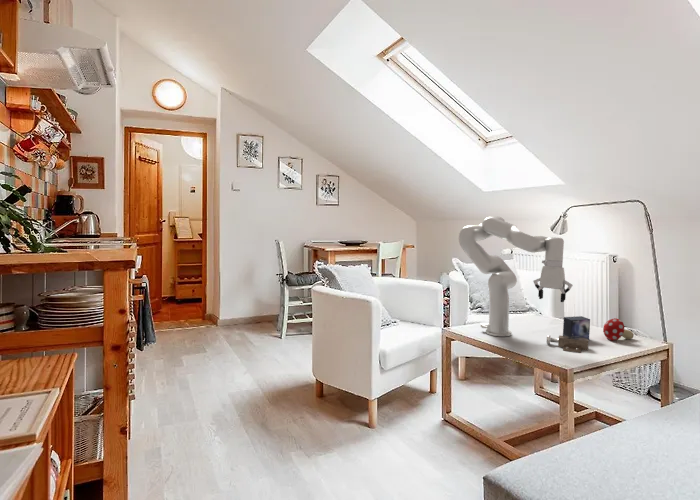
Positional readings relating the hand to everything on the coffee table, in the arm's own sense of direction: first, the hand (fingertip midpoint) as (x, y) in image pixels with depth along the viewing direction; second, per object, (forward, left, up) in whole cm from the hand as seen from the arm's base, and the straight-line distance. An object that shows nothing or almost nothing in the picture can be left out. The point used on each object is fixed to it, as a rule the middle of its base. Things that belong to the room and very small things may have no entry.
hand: (551, 300), depth 213 cm
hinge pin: (+6, -2, -21) cm, 22 cm away
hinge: (+10, -2, -21) cm, 23 cm away
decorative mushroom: (+28, +23, -21) cm, 42 cm away
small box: (+10, +15, -21) cm, 28 cm away
